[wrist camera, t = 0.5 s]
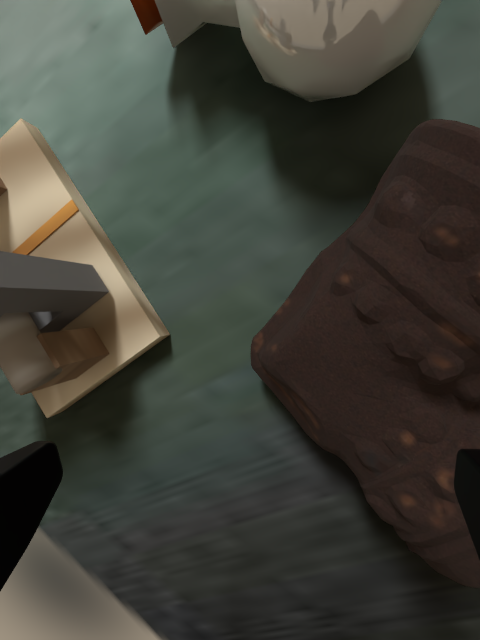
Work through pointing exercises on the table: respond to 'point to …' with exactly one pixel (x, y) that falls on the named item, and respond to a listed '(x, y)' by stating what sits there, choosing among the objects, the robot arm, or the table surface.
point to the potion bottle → (306, 37)
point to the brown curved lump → (396, 344)
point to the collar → (47, 289)
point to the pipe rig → (74, 246)
